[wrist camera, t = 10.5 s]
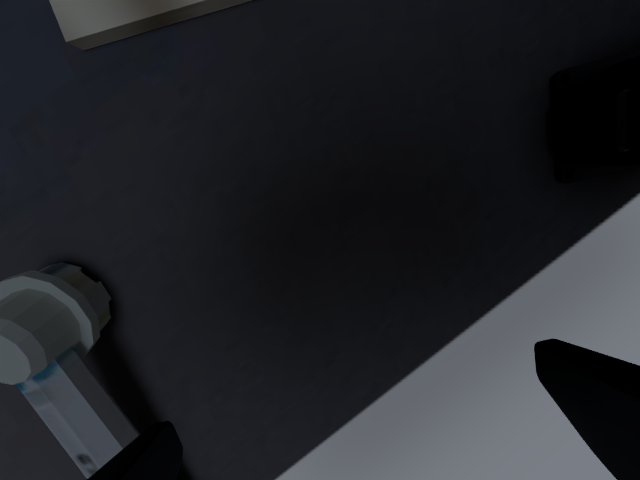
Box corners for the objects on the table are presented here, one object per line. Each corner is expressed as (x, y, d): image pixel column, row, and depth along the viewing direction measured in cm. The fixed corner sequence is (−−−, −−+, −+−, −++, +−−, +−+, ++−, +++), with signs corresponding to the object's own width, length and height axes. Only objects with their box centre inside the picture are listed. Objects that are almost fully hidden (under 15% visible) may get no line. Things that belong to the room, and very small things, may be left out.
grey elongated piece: (143, 589, 22) (-124, 336, 13) (179, 488, 29) (13, 269, 20) (207, 577, 22) (-22, 308, 13) (229, 477, 28) (85, 248, 19)
